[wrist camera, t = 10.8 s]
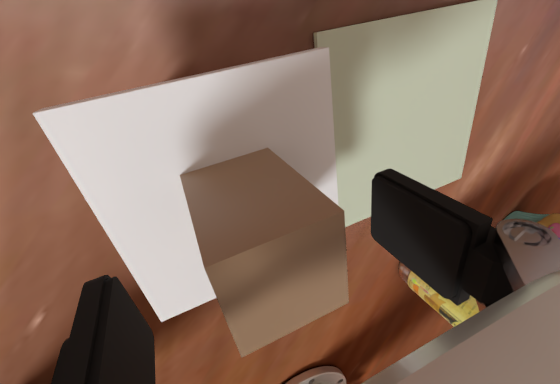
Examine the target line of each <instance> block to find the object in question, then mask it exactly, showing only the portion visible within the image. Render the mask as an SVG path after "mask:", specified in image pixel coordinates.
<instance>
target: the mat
mask: <svg viewBox="0 0 560 384" xmlns="http://www.w3.org/2000/svg"><path fill="white" fill-rule="evenodd" d="M496 5H497V0H477V1H472V2H467V3H462V4H457V5H452V6H447V7H442V8H436V9H431V10H426V11H421V12H416V13H411V14H406V15H401V16H396V17H391V18H386V19H381V20H376V21H371V22H366V23H361V24H356V25H351V26H345V27H340V28H335V29H330V30H325V31H320V32H315V33H313V35H314V47H315V48H319V47H329V56H330V72H331V89H332V106H333V122H334V139H335V155H336V172H337V189H338V205H339V207H340V208H342V209H343V210H344V214H345V227H347V226H349V225H352V224H354V223H356V222H359V221H361V220H363V219H366V218H368V217H370V216H371V194H372V179H373V178H374V176H375V174H376V173H378V172H381V171H383V170H386V169H393V170H395V171H397V172H399V173H401V174H403V175H405V176H407V177H409V178H412V179H414V180H416V181H418V182H420V183H422V184H424V185H426V186H428V187H430V188H432V189H437V188H439V187H441V186H444V185H446V184H448V183H451V182H453V181H455V180H458V179H460V178H461V176H462V172H463V167H464V162H465V157H466V152H467V147H468V142H469V137H470V132H471V128H472V123H473V118H474V113H475V108H476V103H477V98H478V93H479V88H480V84H481V79H482V74H483V69H484V64H485V59H486V54H487V49H488V44H489V40H490V35H491V30H492V25H493V20H494V15H495V10H496Z"/></svg>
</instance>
